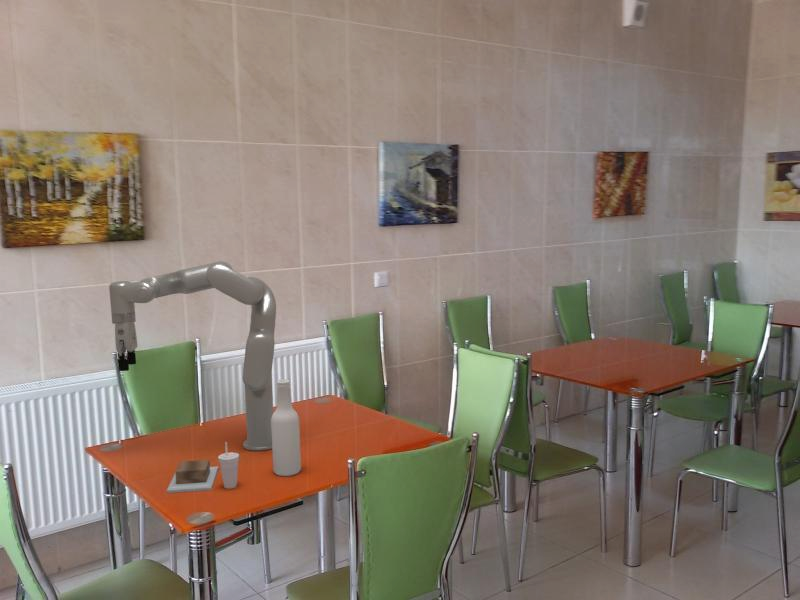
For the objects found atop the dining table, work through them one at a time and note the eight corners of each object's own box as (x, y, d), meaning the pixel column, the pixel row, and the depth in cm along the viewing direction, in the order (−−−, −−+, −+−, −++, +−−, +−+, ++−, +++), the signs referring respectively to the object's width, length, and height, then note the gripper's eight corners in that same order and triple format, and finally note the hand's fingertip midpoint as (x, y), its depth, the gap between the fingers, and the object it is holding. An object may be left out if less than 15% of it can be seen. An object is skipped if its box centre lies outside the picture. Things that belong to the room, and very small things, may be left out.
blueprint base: (218, 468, 240) (217, 454, 240) (211, 490, 222) (210, 474, 222) (177, 471, 239) (176, 457, 238) (166, 493, 221) (165, 477, 220)
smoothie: (221, 482, 228) (218, 439, 226) (242, 481, 229) (240, 438, 227) (218, 490, 222) (215, 446, 220) (239, 489, 222) (237, 445, 220)
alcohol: (278, 479, 230) (274, 385, 226) (269, 470, 238) (265, 379, 234) (305, 473, 234) (301, 381, 230) (295, 465, 242) (291, 375, 238)
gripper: (128, 321, 241) (132, 372, 243) (141, 313, 258) (144, 361, 260) (104, 322, 240) (109, 374, 243) (118, 314, 257) (122, 362, 260)
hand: (127, 367), depth 251 cm, fingers open, 9 cm apart
